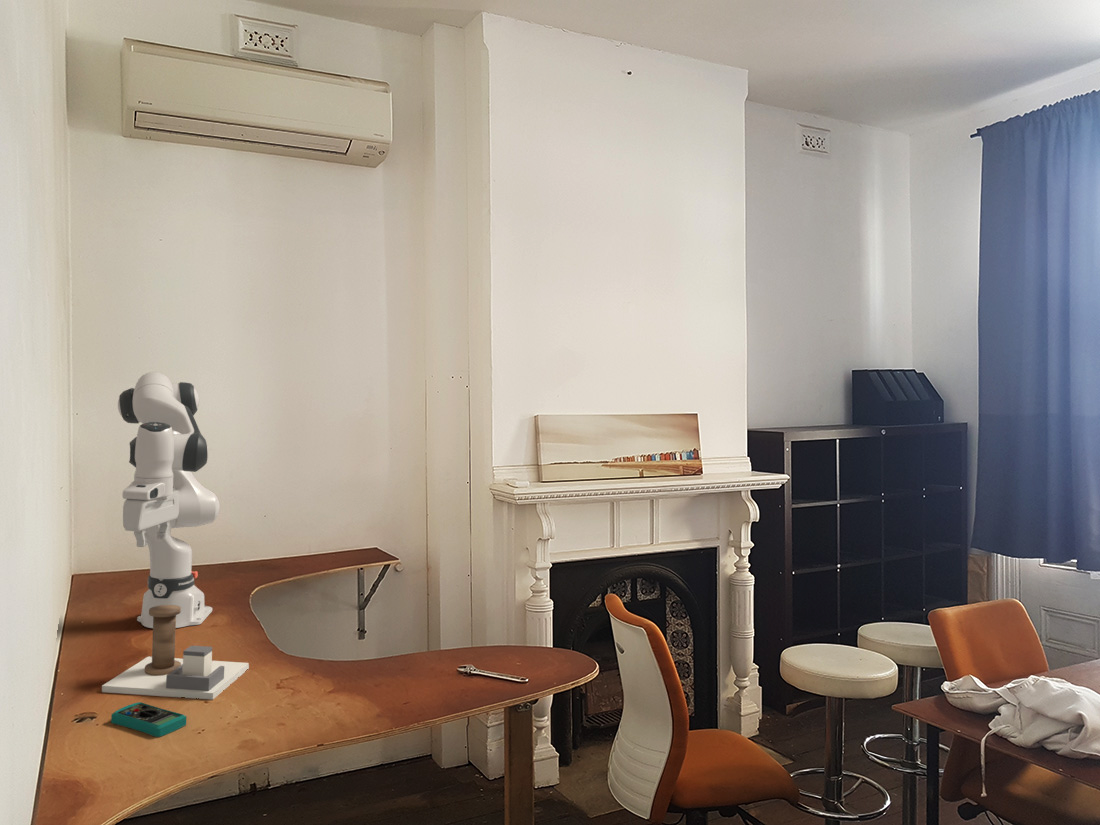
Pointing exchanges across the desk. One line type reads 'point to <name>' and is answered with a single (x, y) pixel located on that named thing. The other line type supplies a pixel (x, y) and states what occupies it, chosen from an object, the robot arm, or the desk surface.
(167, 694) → the board
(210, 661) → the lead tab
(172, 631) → the bobbin
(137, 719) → the digital multimeter
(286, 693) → the desk surface
